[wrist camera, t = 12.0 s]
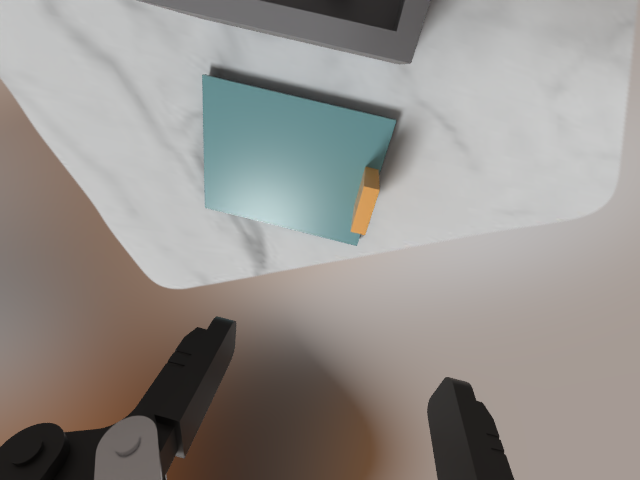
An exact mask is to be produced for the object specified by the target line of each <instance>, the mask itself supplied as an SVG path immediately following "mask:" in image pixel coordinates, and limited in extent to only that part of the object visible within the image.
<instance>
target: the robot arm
mask: <svg viewBox="0 0 640 480" xmlns="http://www.w3.org/2000/svg"><path fill="white" fill-rule="evenodd" d="M235 337H236V321H233V320H229V319H225V318H221V317H215V318H214V319H213V321H212V322H211V324H210V326H209V327H208V329H207V330H206V329H202V328H198V327H197V328H196V329H195V330H193V331H192V332H190V333H189V334H188V335H187V336H185V337H184V338H183V340H182V341H181V343H180V344H179V346H178V347H177V348H176V350H175V352H174V353H173V354H172V356H171V357H170V359H169V360H168V363H167V364H166V365H165V366H164V368H163V369H162V370H161V372H160V373H159V375H158V376H157V378H156V379H155V380H154V382H153V383H152V385H151V386H150V388H149V389H148V391H147V392H146V394H145V395H144V397H143V398H142V399H141V401H140V402H139V404H138V405H137V407H136V408H135V409H134V410H133V411H132V412H131V413H130V414H129V415H128V416H127V417H125V418H124V419H122V420H121V421H119V422H117V423H116V424H113V425H111V426H109V427H105V428H101V429H94V430H84V431H74V432H63V430H62V429H61V428H60V427H59V426H58V425H56V424H53V423H41V424H36V425H33V426H30V427H28V428H26V429H24V430H22V431H20V432H18V433H17V434H15V435H14V436H12V437H11V438H10V439H9V440H7V441H6V442H5V443H4V444H3V445H2V446H1V447H0V480H167V478H166V473H167V471H168V469H169V467H170V465H171V463H172V461H173V459H174V457H175V456H178V457H182V458H185V456H186V454H187V452H188V450H189V448H190V446H191V444H192V441H193V439H194V437H195V435H196V433H197V431H198V429H199V427H200V425H201V423H202V420H203V418H204V416H205V414H206V412H207V410H208V408H209V406H210V404H211V402H212V399H213V397H214V395H215V393H216V391H217V389H218V386H219V385H220V383H221V381H222V378H223V376H224V374H225V372H226V370H227V368H228V366H229V363H230V361H231V359H232V356H233V353H234V349H235ZM427 410H428V411H427V413H428V421H429V427H430V434H431V439H432V446H433V452H434V458H435V465H436V471H437V477H438V480H514V478H513V475H512V472H511V469H510V466H509V463H508V460H507V457H506V455H505V454H504V449H503V446H502V443H501V440H499V434H498V431H497V428H496V425H495V422H494V419H493V418H492V416H491V415H490V413H489V412H488V410H487V409H486V407H485V406H484V404H483V403H482V402H479V401H476V398H475V395H474V392H473V389H472V387H471V385H470V384H469V383H467V382H465V381H461V380H457V379H453V378H449V377H446V378H445V379H444V380H443V381H442V383H441V384H440V385H439V387H438V388H437V390H436V391H435V392H434V393H433V395H432V396H431V398H430V400H429V403H428V409H427Z"/></svg>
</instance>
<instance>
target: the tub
mask: <svg viewBox="0 0 640 480" xmlns="http://www.w3.org/2000/svg"><path fill="white" fill-rule="evenodd" d="M137 1H141V2H144V3H148V4H151V5H155V6H158V7H162V8H166V9H169V10H173V11H176V12H180V13H183V14H187V15H190V16H194V17H198V18H201V19H205V20H210V21H214V22H218V23H223V24H227V25H231V26H236V27H240V28H244V29H249V30H253V31H257V32H262V33H266V34H270V35H275V36H279V37H283V38H288V39H292V40H296V41H300V42H305V43H309V44H313V45H318V46H322V47H326V48H331V49H335V50H339V51H344V52H348V53H352V54H357V55H361V56H365V57H370V58H374V59H378V60H383V61H387V62H391V63H395V64H410V63H411V62H412V59H413V55H414V52H415V49H416V46H417V42H418V39H419V36H420V33H421V30H422V26H423V23H424V20H425V17H426V14H427V10H428V7H429V4H430V1H431V0H137Z"/></svg>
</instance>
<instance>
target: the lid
mask: <svg viewBox="0 0 640 480" xmlns="http://www.w3.org/2000/svg"><path fill="white" fill-rule="evenodd" d="M202 84H203V135H204V186H205V208H208V209H212V210H216V211H220V212H224V213H228V214H232V215H236V216H240V217H244V218H248V219H252V220H256V221H260V222H264V223H268V224H272V225H276V226H280V227H284V228H288V229H291V230H295V231H299V232H303V233H307V234H311V235H315V236H319V237H323V238H327V239H331V240H335V241H339V242H343V243H347V244H351V245H355V246H357V244H358V241H359V238H360V234H362V235H365V233H366V230H367V227H368V224H369V221H370V218H371V215H372V212H373V209H374V206H375V203H376V200H377V197H378V194H379V191H380V187H379V174H380V171H381V168H382V165H383V162H384V158H385V155H386V152H387V149H388V146H389V143H390V139H391V136H392V133H393V130H394V127H395V124H396V119H392V118H387V117H383V116H379V115H375V114H371V113H366V112H362V111H358V110H354V109H349V108H345V107H341V106H337V105H332V104H328V103H324V102H320V101H316V100H311V99H307V98H303V97H299V96H294V95H290V94H286V93H282V92H277V91H273V90H269V89H265V88H261V87H256V86H252V85H248V84H244V83H239V82H235V81H231V80H227V79H222V78H218V77H214V76H210V75H202Z"/></svg>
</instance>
